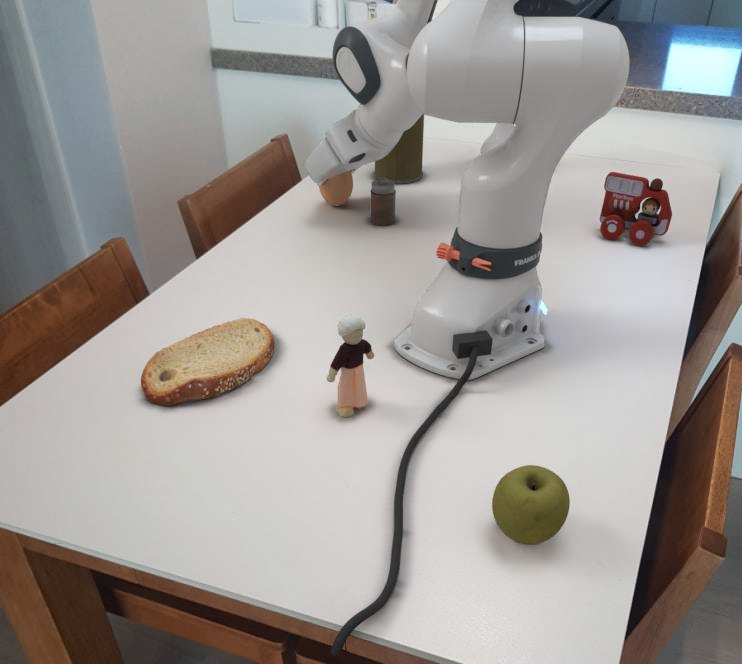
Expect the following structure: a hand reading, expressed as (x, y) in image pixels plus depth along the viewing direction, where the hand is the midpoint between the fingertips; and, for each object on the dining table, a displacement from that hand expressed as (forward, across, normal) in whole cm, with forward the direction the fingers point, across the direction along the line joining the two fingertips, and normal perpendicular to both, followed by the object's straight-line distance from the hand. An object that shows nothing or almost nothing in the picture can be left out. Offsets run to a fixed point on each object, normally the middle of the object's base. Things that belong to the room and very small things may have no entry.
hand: (333, 176), depth 144 cm
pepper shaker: (-5, 0, +13) cm, 14 cm away
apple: (-52, +53, +59) cm, 95 cm away
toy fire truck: (-32, -24, +40) cm, 56 cm away
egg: (+3, 0, +4) cm, 5 cm away
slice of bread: (-16, +54, +24) cm, 61 cm away
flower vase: (-5, -40, +13) cm, 42 cm away
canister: (+5, -21, +3) cm, 22 cm away
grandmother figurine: (-31, +48, +39) cm, 69 cm away
